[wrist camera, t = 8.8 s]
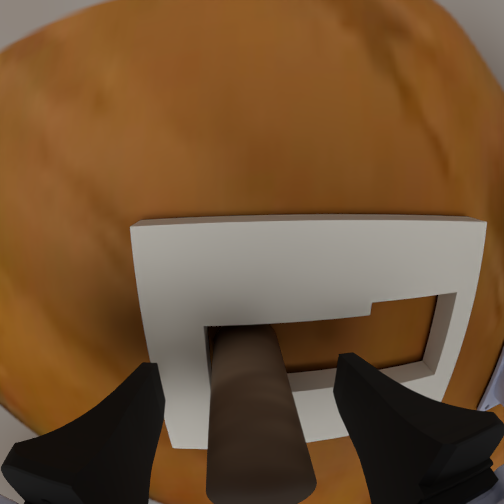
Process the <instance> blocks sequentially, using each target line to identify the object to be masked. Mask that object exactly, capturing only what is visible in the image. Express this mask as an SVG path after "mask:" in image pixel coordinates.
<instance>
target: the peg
mask: <svg viewBox="0 0 504 504" xmlns="http://www.w3.org/2000/svg"><path fill="white" fill-rule="evenodd" d="M316 484H317V482H316V477H315V474H314V470H313V466H312V463H311V459H310V455H309V452H308V448H307V445H306V441H305V437H304V434H303V430H302V426H301V423H300V419H299V416H298V412H297V408H296V405H295V401H294V397H293V394H292V390H291V387H290V383H289V379H288V376H287V372H286V369H285V365H284V361H283V358H282V354H281V350H280V347H279V343H278V340H277V336H276V334H275V332H274V330H273V329H272V328H271V327H270V326H269V325H268V324H253V325H228V326H222V327H221V328H220V329H219V331H218V332H217V334H216V336H215V339H214V345H213V360H212V375H211V392H210V409H209V429H208V451H207V477H206V494H207V497H208V498H209V499H210V500H211V501H212V502H213V503H214V504H298V503H299V502H301V501H303V500H304V499H306V498H307V497H308V496H310V495H311V494H312V493H313V491H314V490H315V488H316Z"/></svg>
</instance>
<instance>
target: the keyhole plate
mask: <svg viewBox="0 0 504 504" xmlns="http://www.w3.org/2000/svg"><path fill="white" fill-rule="evenodd" d="M486 226H487V222H485V221H482V220H478V219H475V218H472V217H465V216H436V215H391V214H292V215H245V216H213V217H188V218H167V219H148V220H140V221H138V222H137V223H135V224H133V225H132V226H130V232H131V242H132V252H133V260H134V268H135V276H136V283H137V290H138V297H139V303H140V309H141V315H142V321H143V327H144V332H145V337H146V343H147V348H148V353H149V357H150V362H151V363H157V364H158V369H159V373H160V378H161V382H162V387H163V391H164V396H165V400H166V402H165V412H164V419H165V423H166V426H167V430H168V433H169V437H170V440H171V443H172V447H173V448H184V449H208V429H209V409H210V392H211V375H212V370H211V361H210V350H209V340H208V329H207V326H228V325H253V324H272V323H288V322H303V321H315V320H327V319H338V318H348V317H358V316H367V315H370V312H371V305H372V302H382V301H391V300H400V299H409V298H417V297H425V296H433V295H438V299H437V304H436V309H435V314H434V318H433V322H432V327H431V331H430V335H429V339H428V342H427V346H426V350H425V353H424V357H423V360H422V361H419V362H415V363H410V364H406V365H401V366H396V367H391V368H386V369H381V370H379V371H381V372H382V373H384V374H385V375H387V376H388V377H390V378H391V379H393V380H395V381H396V382H398V383H400V384H402V385H403V386H405V387H407V388H409V389H411V390H413V391H415V392H417V393H419V394H421V395H424V396H426V397H428V398H431V399H433V400H436V401H439V402H441V401H442V398H443V396H444V393H445V391H446V388H447V386H448V383H449V380H450V378H451V375H452V372H453V370H454V367H455V364H456V361H457V358H458V355H459V352H460V349H461V346H462V342H463V339H464V336H465V332H466V329H467V325H468V322H469V318H470V314H471V310H472V306H473V302H474V298H475V293H476V288H477V284H478V279H479V273H480V268H481V262H482V256H483V250H484V243H485V235H486ZM336 370H337V368H333V369H325V370H317V371H308V372H298V373H287V376H288V379H289V383H290V387H291V390H292V394H293V397H294V401H295V405H296V408H297V412H298V416H299V419H300V423H301V426H302V430H303V434H304V437H305V441H306V443H307V442H314V441H320V440H327V439H332V438H338V437H344V436H349V434H348V432H347V429H346V427H345V425H344V423H343V421H342V418H341V416H340V414H339V412H338V408H337V405H336V402H335V398H334V394H333V388H334V382H335V376H336Z"/></svg>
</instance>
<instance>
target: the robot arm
mask: <svg viewBox="0 0 504 504" xmlns="http://www.w3.org/2000/svg"><path fill="white" fill-rule="evenodd" d="M333 394H334V398H335V402H336V405H337V408H338V412H339V414H340V416H341V418H342V421H343V423H344V425H345V427H346V429H347V432H348V434H349V436H350V438H351V440H352V442H353V445H354V447H355V449H356V451H357V454H358V456H359V459H360V462H361V465H362V469H363V472H364V475H365V479H366V483H367V486H368V490H369V494H370V499H371V503H372V504H504V464H503V465H501V466H500V467H499V468H497V469H496V470H495V471H494V472H493V471H492V469H491V468H490V467H491V466H492V465H493V462H492V460H491V459H490V458H489V457H490V456H491V455H492V453H493V452H494V450H495V449H496V447H497V446H498V444H499V443H500V441H501V439H502V438H503V436H504V424H503V422H502V421H501V420H500V419H499V418H498V417H497V416H496V414H495V413H494V412H487V411H486V410H488V409H490V408H492V407H494V406H496V405H498V404H500V403H501V404H502V406H503V407H504V347H503V350H502V353H501V355H500V358H499V360H498V363H497V366H496V368H495V371H494V373H493V375H492V378H491V380H490V382H489V385H488V387H487V389H486V391H485V394H484V396H483V398H482V400H481V402H480V404H479V406H478V408H477V410H471V409H465V408H461V407H456V406H452V405H449V404H445V403H442V402H439V401H436V400H433V399H431V398H428V397H426V396H424V395H421V394H419V393H417V392H415V391H413V390H411V389H409V388H407V387H405V386H403V385H402V384H400V383H398V382H396V381H395V380H393V379H391V378H390V377H388V376H387V375H385V374H384V373H382V372H381V371H379V370H378V369H376V368H375V367H373V366H372V365H370V364H369V363H368V362H366V361H365V360H363V359H362V358H361V357H359V356H358V355H356V354H355V353H353V352H352V353H344V354H339V357H338V363H337V370H336V376H335V382H334V388H333ZM165 402H166V400H165V396H164V391H163V387H162V382H161V378H160V373H159V369H158V364H157V363H145V362H143V363H142V364H141V365H140V366H139V367H138V368H137V369H136V370H135V371H134V372H133V373H132V374H131V375H130V376H129V377H128V378H127V379H126V380H125V381H124V382H123V383H122V384H121V385H119V386H118V387H117V388H116V389H115V390H114V391H113V392H112V393H111V394H110V395H108V396H107V397H106V398H105V399H104V400H103V401H101V402H100V403H99V404H98V405H96V406H95V407H94V408H92V409H91V410H90V411H88V412H87V413H85V414H84V415H82V416H81V417H79V418H77V419H75V420H74V421H72V422H70V423H68V424H66V425H65V426H63V427H61V428H59V429H56V430H54V431H52V432H49V433H47V434H44V435H42V436H39V437H36V438H33V439H29V440H26V441H22V442H18V443H15V444H14V445H13V447H12V449H11V450H10V452H9V454H8V455H7V457H6V459H5V461H4V463H3V464H2V466H1V471H2V473H3V476H4V477H5V479H6V480H7V481H8V483H9V484H10V485H11V486H12V487H13V488H14V489H15V491H17V493H18V494H19V495H20V496H21V497H22V498H23V499H24V500H25V502H24V504H148V499H149V487H150V477H151V470H152V464H153V460H154V456H155V452H156V448H157V444H158V440H159V437H160V433H161V429H162V425H163V420H164V412H165ZM0 504H18V503H17V502H15V501H13V500H11V499H9V498H7V497H4V496H2V495H1V494H0Z"/></svg>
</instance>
